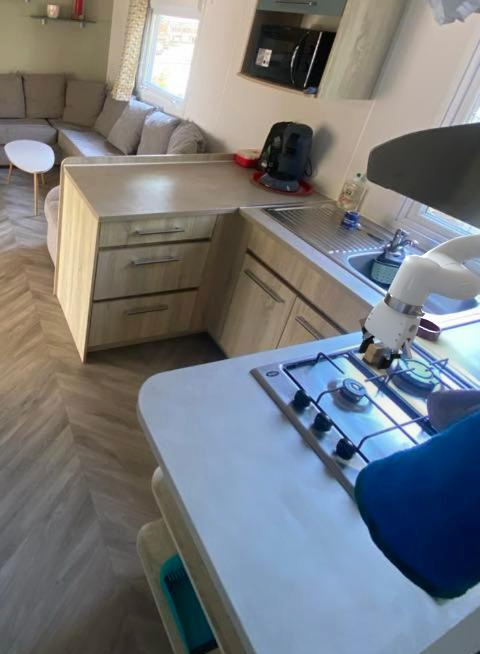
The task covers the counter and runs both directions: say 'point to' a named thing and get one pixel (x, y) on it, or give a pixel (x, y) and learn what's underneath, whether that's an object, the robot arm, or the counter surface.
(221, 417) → the counter surface
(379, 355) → the brown wooden block
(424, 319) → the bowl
